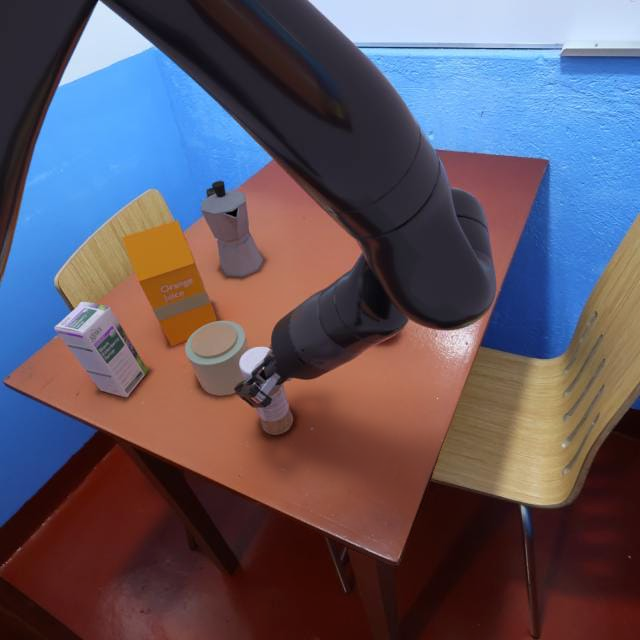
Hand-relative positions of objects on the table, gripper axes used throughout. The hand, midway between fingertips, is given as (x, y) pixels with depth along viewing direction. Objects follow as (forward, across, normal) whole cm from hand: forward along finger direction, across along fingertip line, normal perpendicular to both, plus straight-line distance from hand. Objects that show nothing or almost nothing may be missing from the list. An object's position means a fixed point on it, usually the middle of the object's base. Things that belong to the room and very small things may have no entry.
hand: (252, 377), depth 61 cm
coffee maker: (+24, -31, -11) cm, 41 cm away
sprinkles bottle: (+5, 0, +8) cm, 9 cm away
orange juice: (+23, -13, -10) cm, 28 cm away
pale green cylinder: (+14, -5, -1) cm, 15 cm away
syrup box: (+25, +2, -12) cm, 28 cm away
